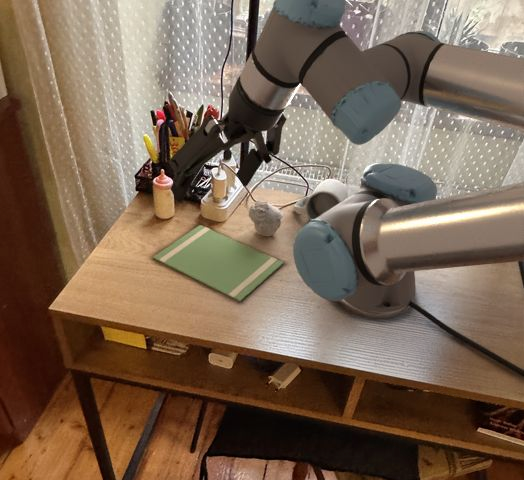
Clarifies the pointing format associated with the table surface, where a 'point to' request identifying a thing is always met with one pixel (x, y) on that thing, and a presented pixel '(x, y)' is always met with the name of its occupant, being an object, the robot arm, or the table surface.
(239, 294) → the tea towel
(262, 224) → the grey lumpy lump
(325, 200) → the ceramic mug
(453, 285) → the table surface
